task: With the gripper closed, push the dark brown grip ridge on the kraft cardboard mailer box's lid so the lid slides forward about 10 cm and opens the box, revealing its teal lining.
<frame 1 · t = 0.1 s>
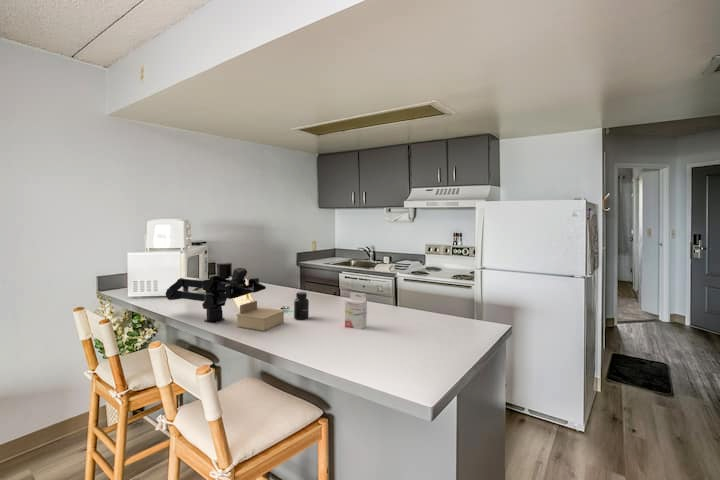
hand: (258, 289, 160), 17 cm above the worktop, tool horizontal, fingers open, 9 cm apart
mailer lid: (260, 309, 164), point 7 cm above the worktop, slide at 0.0 cm
mailer box: (261, 325, 164), on the worktop
ink cartridge box: (355, 327, 163), on the worktop
supplement bottle: (301, 318, 176), on the worktop
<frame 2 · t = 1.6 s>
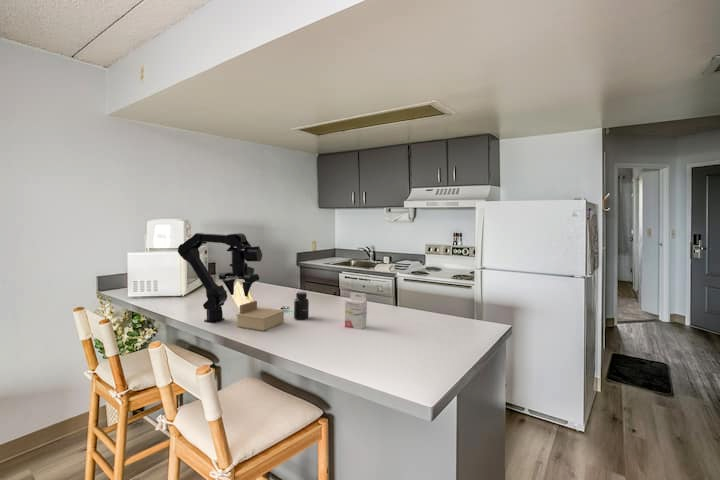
hand: (239, 295, 168), 12 cm above the worktop, tool pointing down, fingers open, 8 cm apart
nothing on the worktop moved.
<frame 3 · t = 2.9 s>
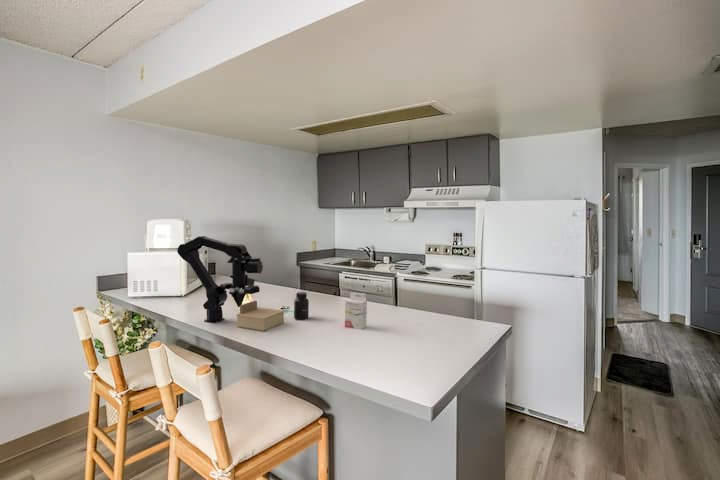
hand: (239, 307, 169), 7 cm above the worktop, tool pointing down, fingers closed
nothing on the worktop moved.
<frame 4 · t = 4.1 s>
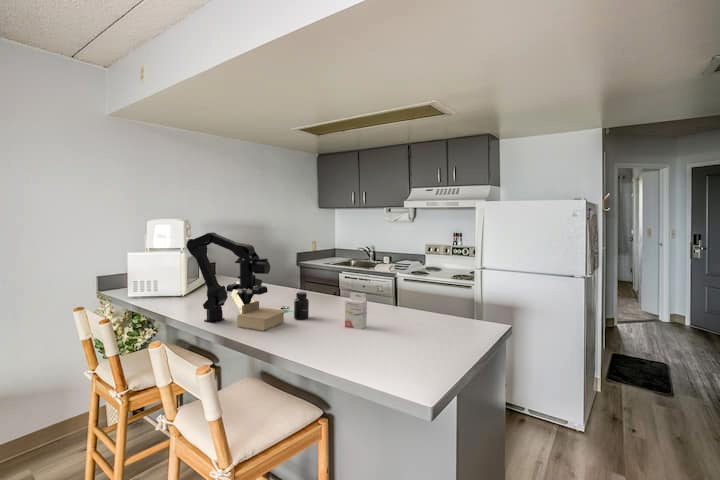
hand: (247, 307, 167), 7 cm above the worktop, tool pointing down, fingers closed
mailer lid: (263, 309, 163), point 7 cm above the worktop, slide at 1.2 cm, touching gripper
everything else where it was.
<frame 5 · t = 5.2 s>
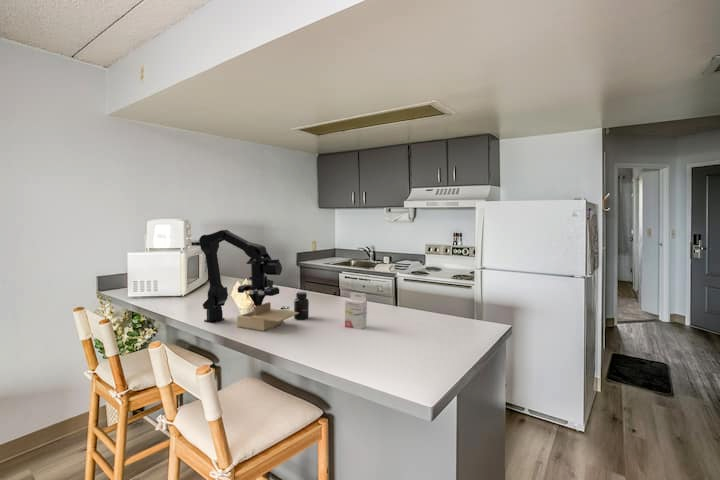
hand: (258, 309, 164), 7 cm above the worktop, tool pointing down, fingers closed
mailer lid: (274, 311, 161), point 7 cm above the worktop, slide at 7.5 cm, touching gripper
everything else where it was.
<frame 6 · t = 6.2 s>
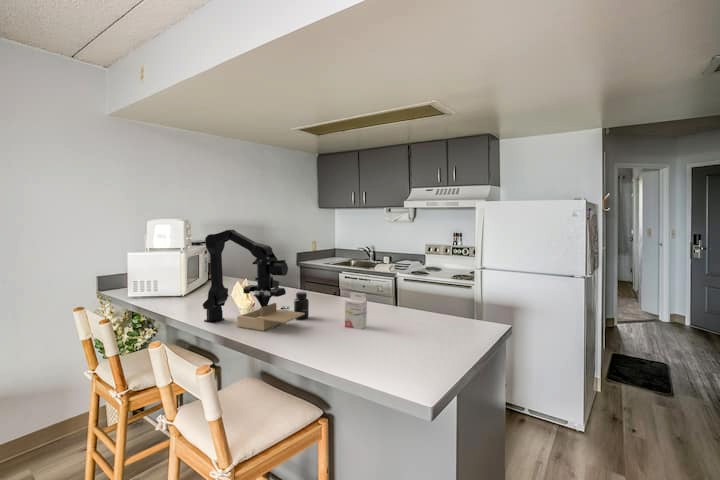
hand: (264, 310, 163), 7 cm above the worktop, tool pointing down, fingers closed
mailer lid: (281, 311, 160), point 7 cm above the worktop, slide at 10.7 cm, touching gripper
everything else where it was.
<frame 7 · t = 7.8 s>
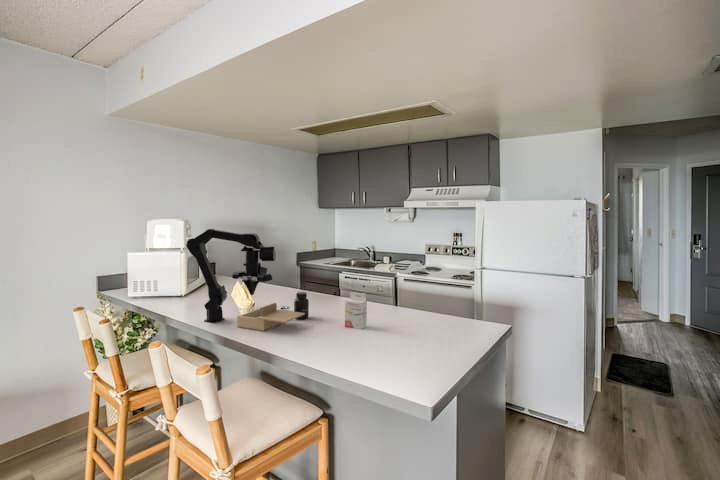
hand: (252, 294, 171), 12 cm above the worktop, tool pointing down, fingers closed
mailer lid: (281, 311, 160), point 7 cm above the worktop, slide at 10.8 cm
everything else where it was.
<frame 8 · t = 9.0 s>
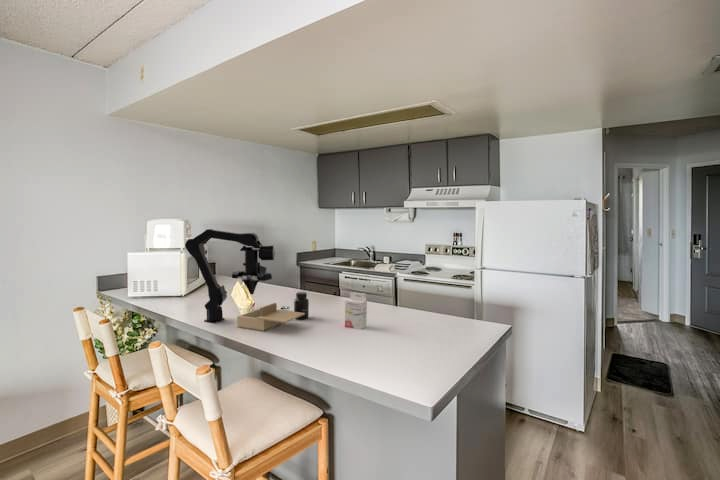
hand: (251, 294, 172), 12 cm above the worktop, tool pointing down, fingers closed
nothing on the worktop moved.
at the end: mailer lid slide at 10.8 cm; supplement bottle moved 0.2 cm from its start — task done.
